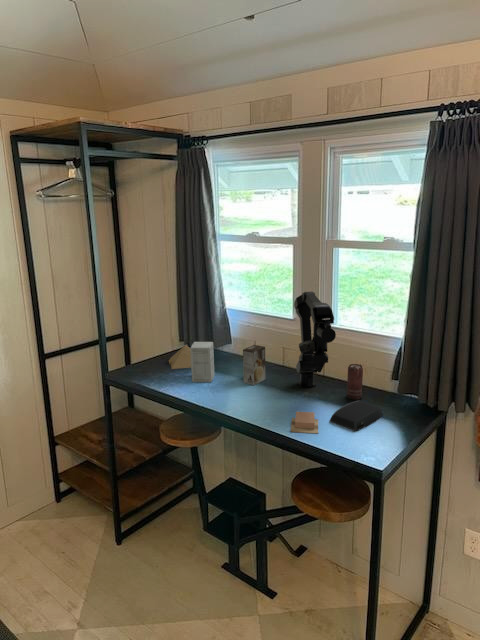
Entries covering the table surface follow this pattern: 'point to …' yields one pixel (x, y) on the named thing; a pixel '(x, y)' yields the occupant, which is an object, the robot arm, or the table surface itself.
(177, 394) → the table surface
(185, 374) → the table surface
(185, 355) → the model pyramid
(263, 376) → the coffee box
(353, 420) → the external hard drive
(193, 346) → the supplement box
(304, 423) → the block
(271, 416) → the table surface
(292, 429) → the brass plate
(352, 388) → the can
